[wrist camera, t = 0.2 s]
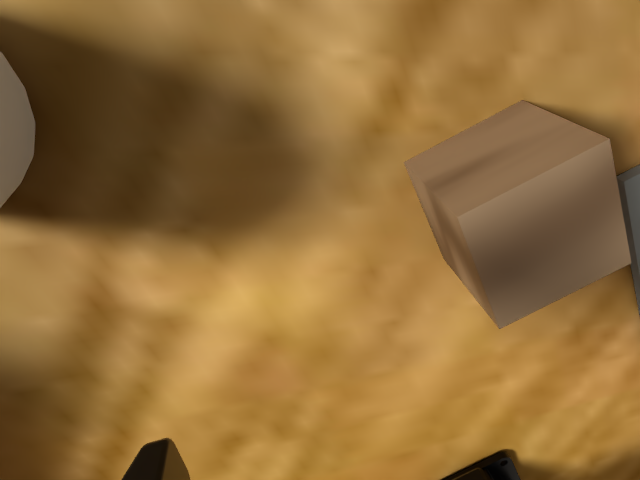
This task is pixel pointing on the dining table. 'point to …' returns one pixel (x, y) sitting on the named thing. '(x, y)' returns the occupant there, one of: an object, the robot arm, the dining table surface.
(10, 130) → the can
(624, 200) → the coaster
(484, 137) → the cube
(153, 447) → the robot arm
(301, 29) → the dining table surface
